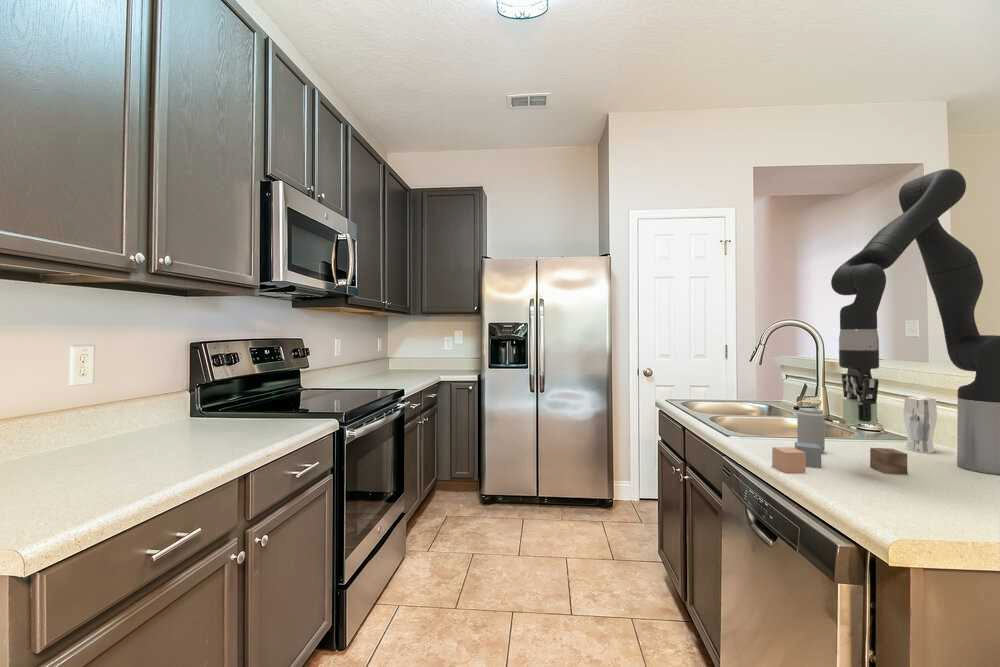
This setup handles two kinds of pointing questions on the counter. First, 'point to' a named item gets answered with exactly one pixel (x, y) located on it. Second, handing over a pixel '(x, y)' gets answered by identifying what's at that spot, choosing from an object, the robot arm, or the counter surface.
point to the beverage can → (811, 427)
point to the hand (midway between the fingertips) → (859, 418)
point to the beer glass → (920, 423)
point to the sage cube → (857, 412)
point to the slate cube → (810, 453)
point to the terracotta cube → (788, 459)
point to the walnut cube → (888, 460)
